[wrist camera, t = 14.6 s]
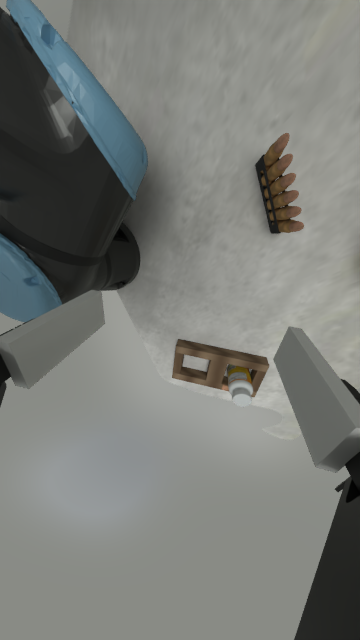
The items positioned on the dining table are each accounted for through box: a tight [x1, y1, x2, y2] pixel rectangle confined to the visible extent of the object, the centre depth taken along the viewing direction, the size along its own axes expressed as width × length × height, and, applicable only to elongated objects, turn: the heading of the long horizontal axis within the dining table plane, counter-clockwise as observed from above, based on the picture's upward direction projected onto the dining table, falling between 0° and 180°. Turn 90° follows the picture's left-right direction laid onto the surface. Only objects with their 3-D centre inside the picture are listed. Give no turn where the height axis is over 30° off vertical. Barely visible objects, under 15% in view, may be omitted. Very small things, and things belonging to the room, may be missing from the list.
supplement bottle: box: [227, 364, 253, 407], centre depth 43 cm, size 5×5×10 cm
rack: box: [172, 339, 269, 397], centre depth 46 cm, size 22×11×3 cm, turn 83°
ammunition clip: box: [255, 133, 304, 233], centre depth 24 cm, size 11×2×12 cm, turn 25°
